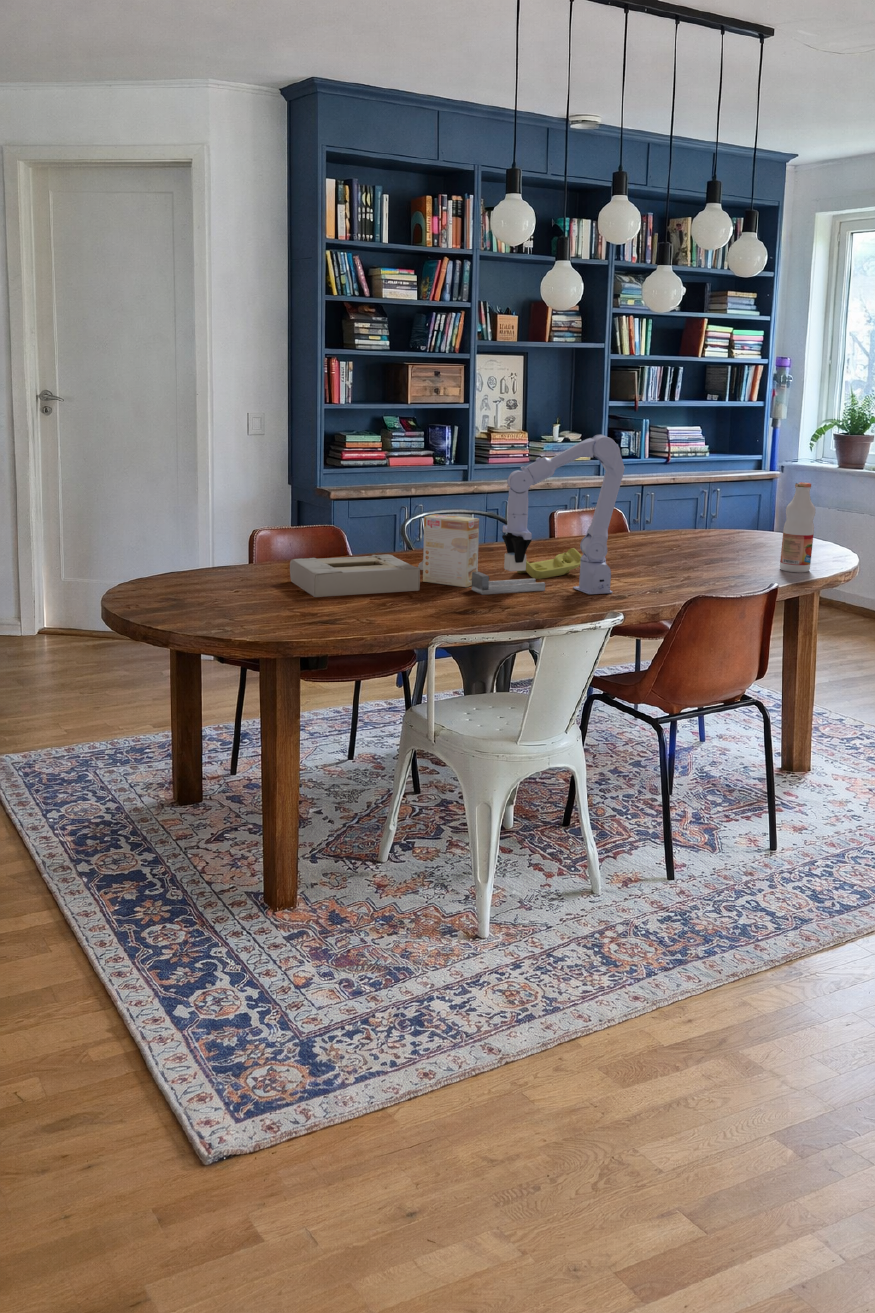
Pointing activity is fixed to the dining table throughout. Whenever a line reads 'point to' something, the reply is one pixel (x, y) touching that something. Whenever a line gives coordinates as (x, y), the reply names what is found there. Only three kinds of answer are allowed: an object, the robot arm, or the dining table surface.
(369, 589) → the box
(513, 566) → the block
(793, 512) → the fruit juice
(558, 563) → the plastic component
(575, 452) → the robot arm
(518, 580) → the rail
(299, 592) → the dining table surface
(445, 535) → the coffeecake box
